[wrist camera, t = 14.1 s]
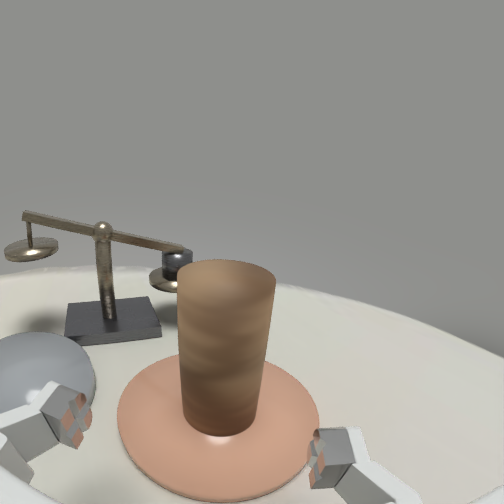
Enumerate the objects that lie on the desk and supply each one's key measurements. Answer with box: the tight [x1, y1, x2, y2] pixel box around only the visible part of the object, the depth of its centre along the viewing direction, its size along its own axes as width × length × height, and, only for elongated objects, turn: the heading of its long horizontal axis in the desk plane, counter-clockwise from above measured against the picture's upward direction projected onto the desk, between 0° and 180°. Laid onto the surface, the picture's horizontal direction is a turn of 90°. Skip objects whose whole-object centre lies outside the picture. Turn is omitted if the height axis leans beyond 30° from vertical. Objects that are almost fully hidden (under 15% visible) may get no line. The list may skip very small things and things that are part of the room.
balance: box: [4, 210, 193, 346], centre depth 25 cm, size 21×7×13 cm, turn 119°
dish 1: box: [0, 332, 96, 414], centre depth 16 cm, size 13×13×1 cm
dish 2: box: [117, 355, 319, 503], centre depth 18 cm, size 14×14×1 cm
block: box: [177, 259, 276, 437], centre depth 16 cm, size 5×5×10 cm
